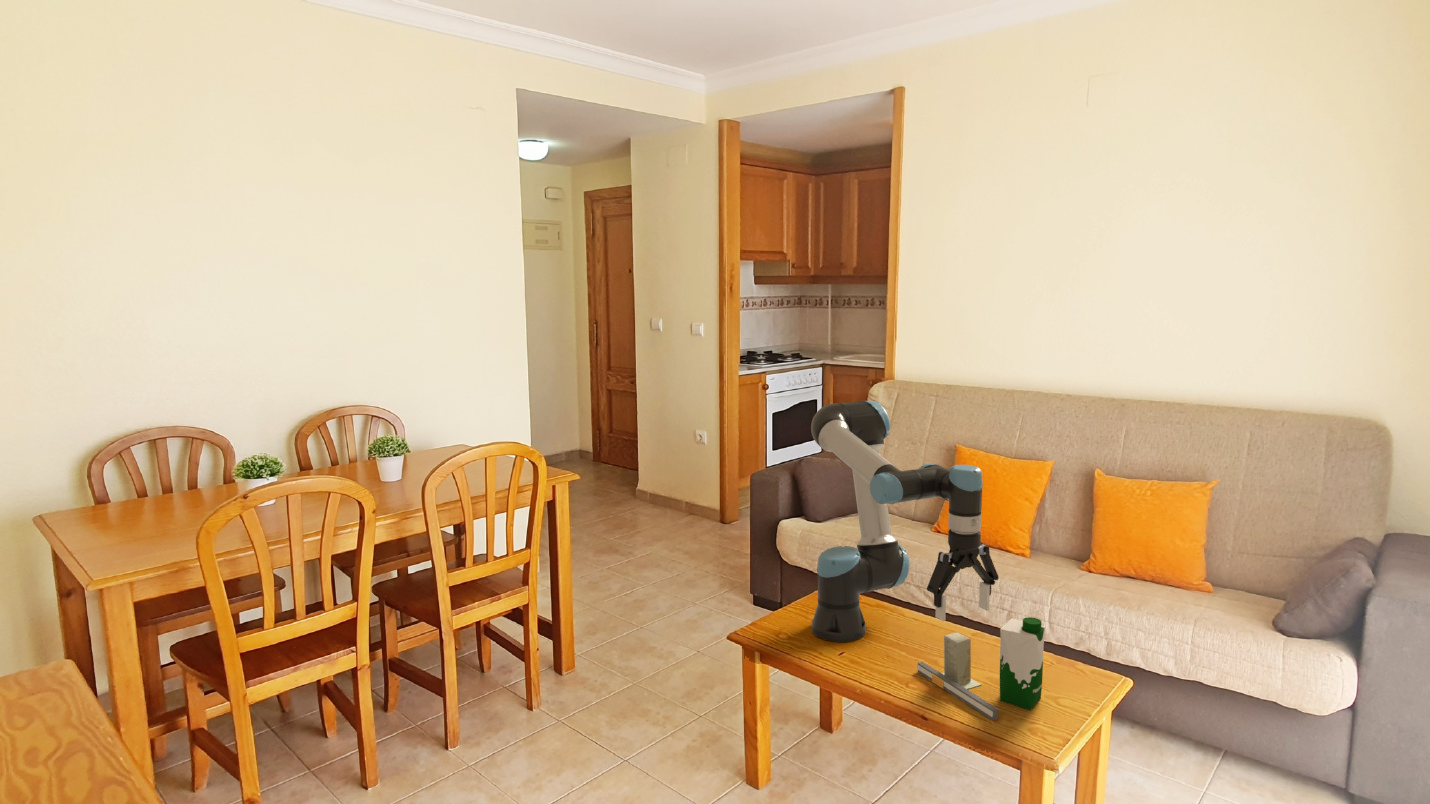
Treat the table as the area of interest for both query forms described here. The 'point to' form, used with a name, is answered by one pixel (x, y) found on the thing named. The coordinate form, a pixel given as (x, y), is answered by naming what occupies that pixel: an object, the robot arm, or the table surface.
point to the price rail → (958, 691)
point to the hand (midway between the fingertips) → (962, 613)
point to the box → (957, 658)
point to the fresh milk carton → (1021, 662)
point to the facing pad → (970, 684)
